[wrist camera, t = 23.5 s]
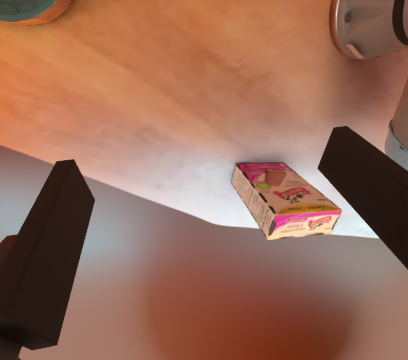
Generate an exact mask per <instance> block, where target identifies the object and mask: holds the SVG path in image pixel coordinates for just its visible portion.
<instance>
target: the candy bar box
mask: <svg viewBox="0 0 408 360" xmlns="http://www.w3.org/2000/svg"><path fill="white" fill-rule="evenodd" d="M231 184H232V185H233V187H234V188H235V190H236V191H237V193H238V194H239V196H240V197H241V199H242V201H243V202H244V204H245V205H246V207H247V208H248V210H249V211H250V213H251V215H252V216H253V218H254V219H255V221H256V222H257V224H258V226H259V227H260V229H261V230H262V232H263V233H264V235H265V237H266V238H267V239H268V240H271V239H282V238H291V237H302V236H312V235H324V234H331V232H332V230H333V228H334V226H335V224H336V222H337V219H338V218H339V217H340V215H341V212H342V209H340V208H339V207H338V206H336V205H335V204H334V203H333V202H332V201H330V200H329V199H328V198H327V197H325V196H324V195H323V194H322V193H320V192H319V191H318V190H317V189H316V188H314V187H313V186H312V185H310V184H309V183H308V182H307V181H306V180H304V179H303V178H302V177H301V176H299V175H298V174H297V173H296V172H295V171H293V170H292V169H291V168H290V167H288V166H287V165H286V164H285V163H240V164H235V167H234V173H233V178H232V183H231Z"/></svg>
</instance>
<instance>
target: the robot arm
mask: <svg viewBox="0 0 408 360" xmlns="http://www.w3.org/2000/svg"><path fill="white" fill-rule="evenodd" d="M330 28H331V34H332V38H333V41H334V43H335V45H336V47H337V48H338V50H339V51H340V52H341V53H342V54H344V55H345V56H347V57H349V58H353V59H370V58H376V57H379V56H381V55H384V54H387V53H391V52H394V51H397V50H400V49H403V48H406V47H408V0H333V1H332V6H331V14H330ZM385 152H386V154H387V155H385V154H384V153H383V152H381V151H380V150H379V149H377V148H376V147H375V146H373V145H372V144H371V143H369V142H368V141H366V140H365V139H364V138H362V137H361V136H360V135H358V134H357V133H356V132H354V131H353V130H351V129H350V128H349V127H347V126H343V127H335V128H333V130H332V133H331V135H330V138H329V140H328V143H327V145H326V148H325V151H324V153H323V156H322V158H321V161H320V163H319V166H318V169H319V171H320V172H321V173H322V174H323V175H324V176H325V177H326V178H327V179H328V181H329V182H330V183H331V184H332V185H333V186H334V187H335V188H336V190H337V191H338V192H339V193H340V194H341V195H342V196H343V197H344V199H345V200H346V201H347V202H348V203H349V204H350V205H351V206H352V207H353V209H354V210H355V211H356V212H357V213H358V214H359V215H360V216H361V218H362V219H363V220H364V221H365V222H366V223H367V224H368V225H369V227H370V228H371V229H372V230H373V231H374V232H375V233H376V234H377V236H378V237H379V238H380V239H381V240H382V241H383V242H384V243H385V244H386V246H387V247H388V248H389V249H390V250H391V251H392V252H393V253H394V254H395V256H396V257H397V258H398V259H399V260H400V261H401V262H402V264H403V265H404V266H405V267H406V268H407V269H408V79H407V81H406V84H405V87H404V90H403V92H402V95H401V98H400V101H399V104H398V106H397V109H396V112H395V114H394V117H393V119H392V120H391V121H390V124H389V132H388V136H387V139H386V142H385ZM94 202H95V199H94V197H93V195H92V193H91V191H90V189H89V187H88V186H87V184H86V182H85V180H84V178H83V176H82V174H81V172H80V170H79V168H78V166H77V164H76V162H75V160H74V159H72V160H64V161H56V163H55V165H54V167H53V169H52V171H51V173H50V175H49V177H48V178H47V180H46V182H45V184H44V186H43V188H42V190H41V191H40V194H39V195H38V197H37V199H36V201H35V203H34V205H33V207H32V208H31V210H30V212H29V214H28V216H27V218H26V220H25V222H24V224H23V225H22V227H21V229H20V231H19V233H18V234H17V235H11V236H7V237H6V238H5V239H4V240H3V241H2V242H1V243H0V360H21V359H20V358H19V357H18V356H19V353H20V350H21V347H22V346H23V347H26V348H28V349H30V350H36V349H41V348H46V347H51V346H55V345H57V344H58V340H59V336H60V332H61V328H62V324H63V321H64V317H65V313H66V309H67V305H68V301H69V298H70V294H71V290H72V286H73V282H74V278H75V275H76V270H77V267H78V263H79V259H80V255H81V252H82V248H83V244H84V240H85V236H86V232H87V228H88V225H89V221H90V217H91V213H92V209H93V205H94Z"/></svg>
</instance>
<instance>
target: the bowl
mask: <svg viewBox="0 0 408 360" xmlns="http://www.w3.org/2000/svg"><path fill="white" fill-rule="evenodd" d="M71 2H72V0H0V21H5V22H11V23H17V24H23V25H31V26H32V25H37V24H42V23H47V22H51V21H52V20H54V19H55V18H57V17H58V16H60V15H61V14H63V13H64V12H65V11H66V10H67V8H68V7H69V5H70V3H71Z"/></svg>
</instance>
